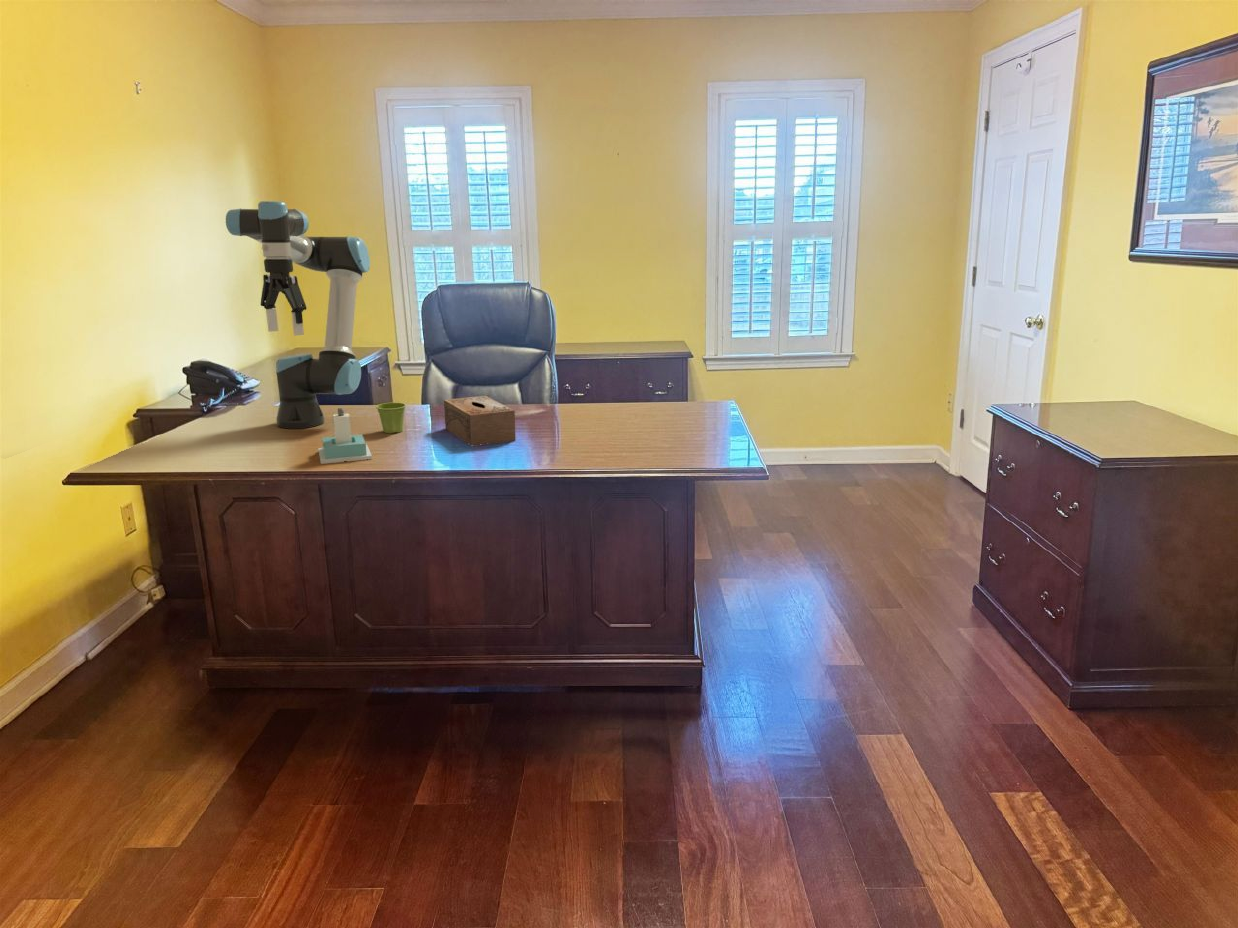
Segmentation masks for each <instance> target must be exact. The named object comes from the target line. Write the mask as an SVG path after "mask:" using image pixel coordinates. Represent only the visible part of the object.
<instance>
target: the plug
mask: <svg viewBox="0 0 1238 928" xmlns="http://www.w3.org/2000/svg"><path fill="white" fill-rule="evenodd" d="M344 412H345V411H344V408H343V407H339V408H337V413H335V414H332V421H333V422H332V423H333V430H334V432H333V433H334V437H335V443H336V444H340V443H352V437H351V435H352V430H351V429H352V427H351V417H350V414H349V413H344Z"/></svg>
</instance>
